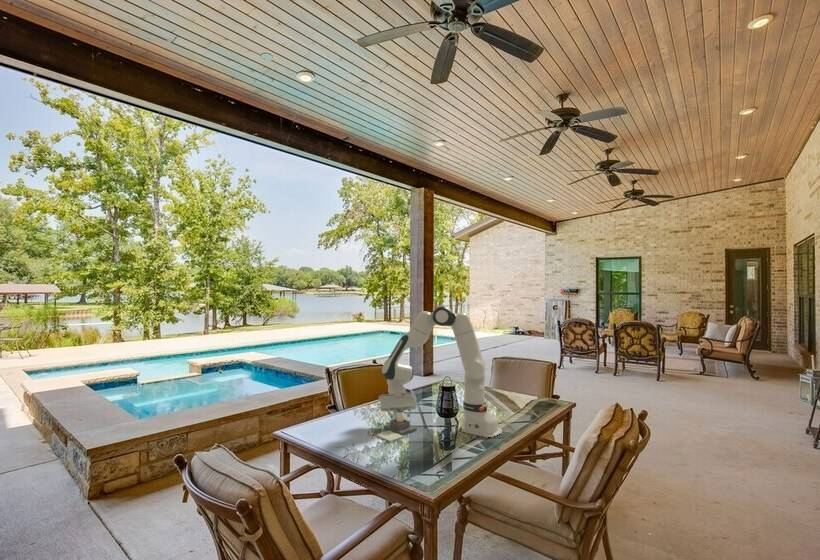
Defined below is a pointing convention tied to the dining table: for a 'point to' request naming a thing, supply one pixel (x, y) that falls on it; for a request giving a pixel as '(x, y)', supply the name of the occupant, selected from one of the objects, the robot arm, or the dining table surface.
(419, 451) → the dining table surface
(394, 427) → the socket
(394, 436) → the mat
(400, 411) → the plug
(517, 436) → the dining table surface
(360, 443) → the dining table surface
